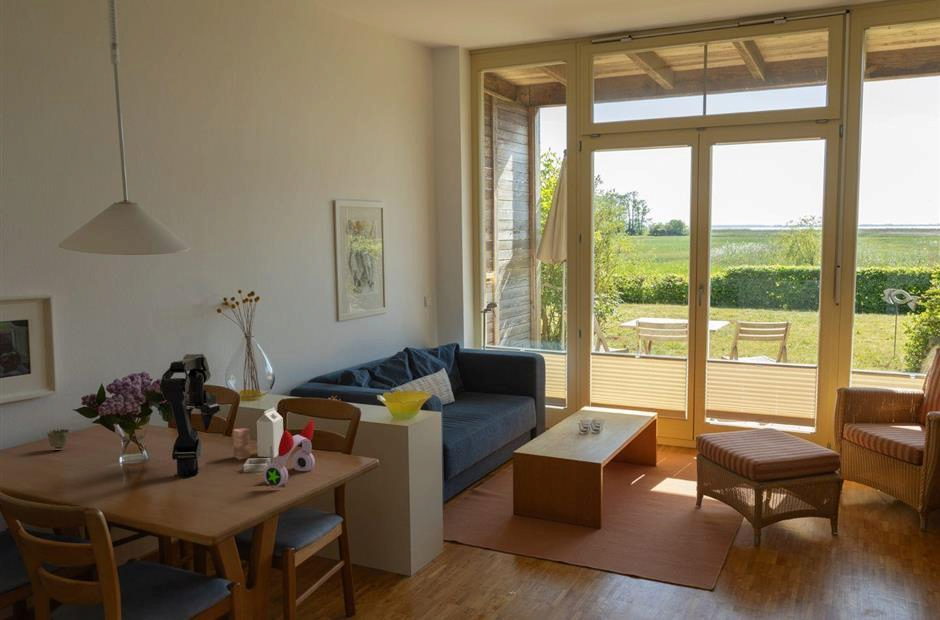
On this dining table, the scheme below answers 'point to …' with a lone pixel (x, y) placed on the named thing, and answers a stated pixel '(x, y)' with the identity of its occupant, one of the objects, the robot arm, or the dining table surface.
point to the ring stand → (257, 464)
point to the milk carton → (269, 432)
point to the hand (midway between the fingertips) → (197, 429)
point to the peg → (241, 443)
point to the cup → (58, 438)
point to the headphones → (300, 460)
